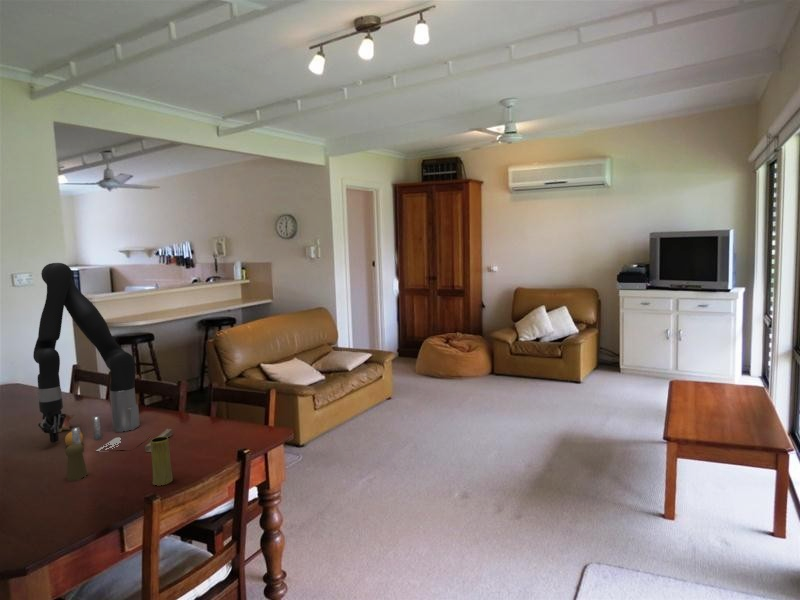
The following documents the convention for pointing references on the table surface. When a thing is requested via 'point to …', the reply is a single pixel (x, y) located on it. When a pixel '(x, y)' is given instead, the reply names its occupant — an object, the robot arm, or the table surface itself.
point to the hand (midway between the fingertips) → (54, 441)
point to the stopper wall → (165, 433)
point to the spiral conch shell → (66, 423)
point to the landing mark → (112, 443)
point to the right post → (97, 427)
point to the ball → (69, 438)
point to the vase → (161, 461)
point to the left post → (76, 435)
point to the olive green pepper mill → (75, 462)
